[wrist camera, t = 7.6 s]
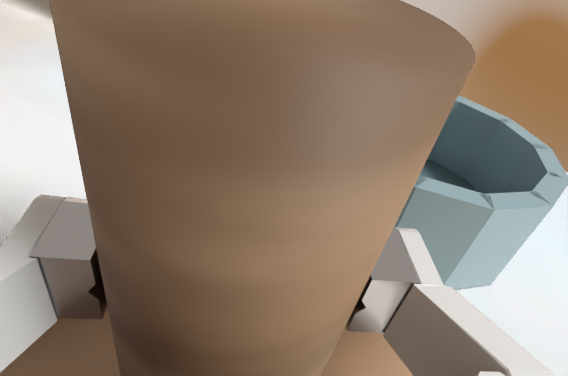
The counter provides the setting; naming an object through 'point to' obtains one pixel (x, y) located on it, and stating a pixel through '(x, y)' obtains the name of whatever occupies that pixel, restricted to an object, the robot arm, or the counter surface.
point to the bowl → (481, 194)
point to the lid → (243, 178)
